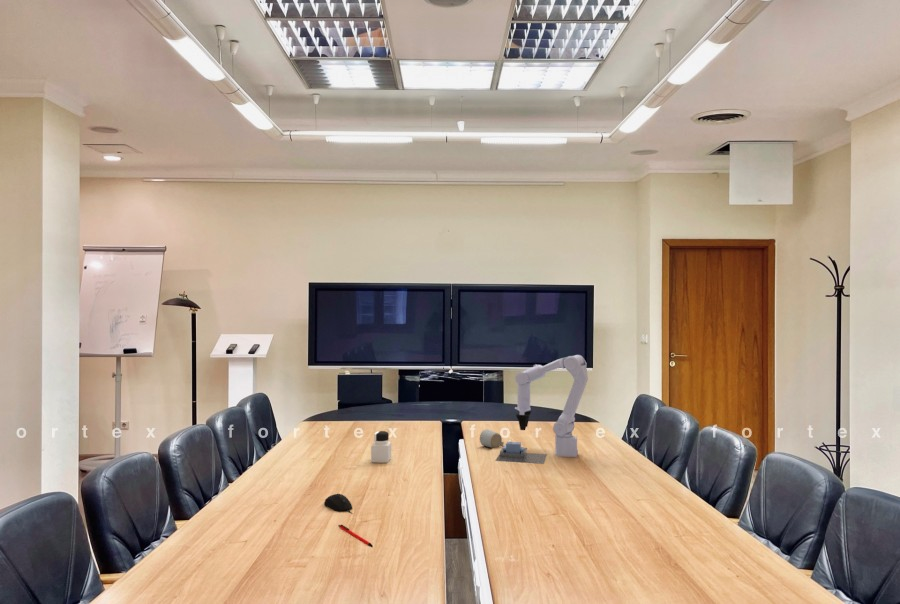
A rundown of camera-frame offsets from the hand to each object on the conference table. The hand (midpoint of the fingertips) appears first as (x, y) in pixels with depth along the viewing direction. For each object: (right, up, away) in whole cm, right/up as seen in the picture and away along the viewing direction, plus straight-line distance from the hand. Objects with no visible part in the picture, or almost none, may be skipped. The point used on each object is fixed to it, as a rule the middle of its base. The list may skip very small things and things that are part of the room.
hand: (523, 428), depth 255 cm
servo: (-6, -9, -11) cm, 15 cm away
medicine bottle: (-62, -10, -17) cm, 65 cm away
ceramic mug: (-13, -10, +7) cm, 18 cm away
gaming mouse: (-68, -10, -74) cm, 101 cm away
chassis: (-3, -10, -15) cm, 18 cm away
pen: (-60, -9, -97) cm, 114 cm away
